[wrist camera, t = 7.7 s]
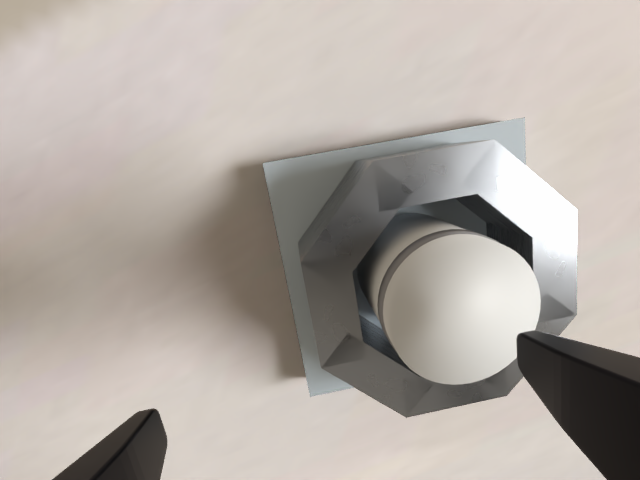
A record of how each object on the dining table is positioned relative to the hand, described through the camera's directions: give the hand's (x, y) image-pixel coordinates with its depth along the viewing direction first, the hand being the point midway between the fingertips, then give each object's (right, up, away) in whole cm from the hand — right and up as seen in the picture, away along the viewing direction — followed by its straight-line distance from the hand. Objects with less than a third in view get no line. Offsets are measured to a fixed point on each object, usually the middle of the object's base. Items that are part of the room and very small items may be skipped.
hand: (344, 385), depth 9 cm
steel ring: (+4, +2, +7) cm, 8 cm away
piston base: (+3, +3, +8) cm, 9 cm away
